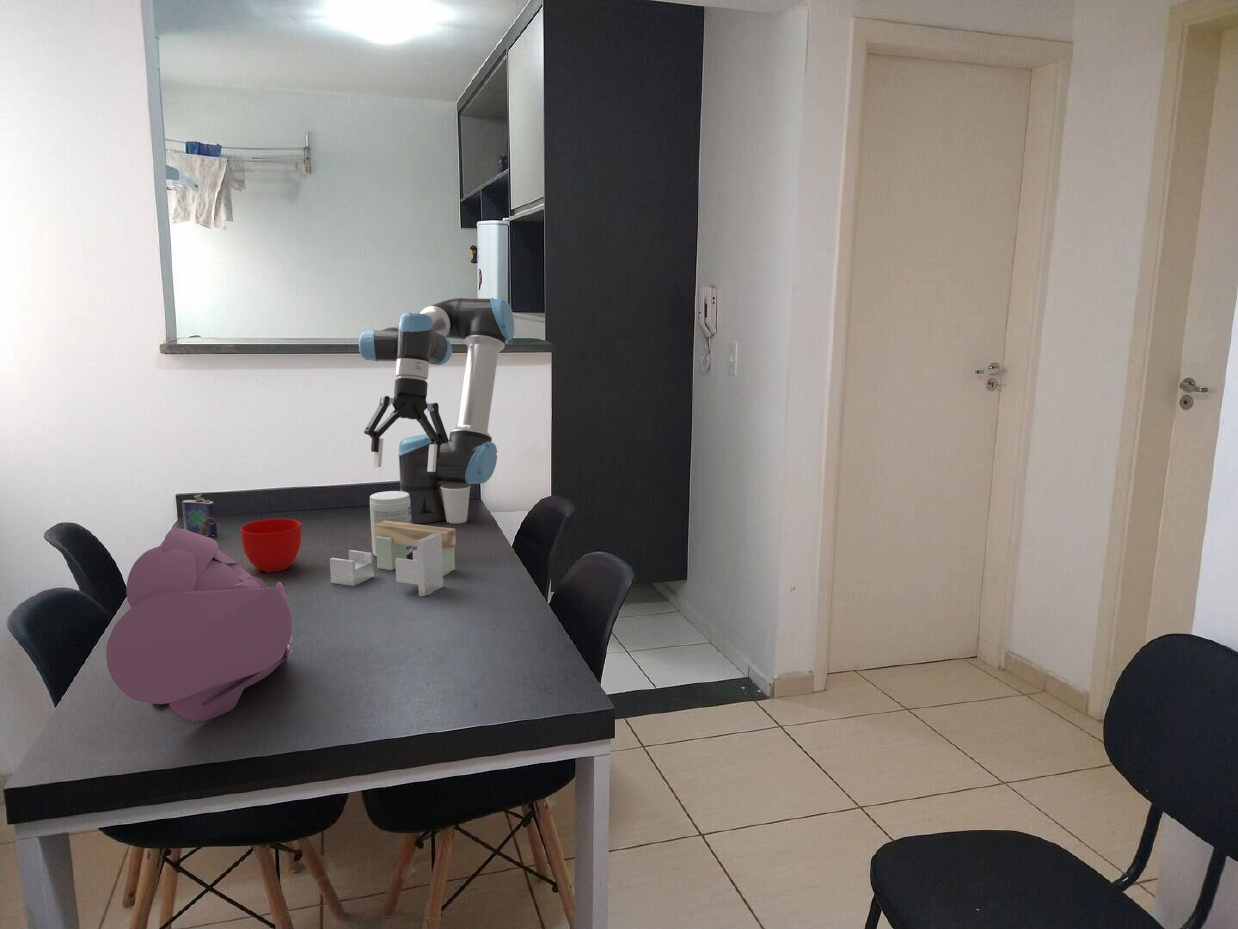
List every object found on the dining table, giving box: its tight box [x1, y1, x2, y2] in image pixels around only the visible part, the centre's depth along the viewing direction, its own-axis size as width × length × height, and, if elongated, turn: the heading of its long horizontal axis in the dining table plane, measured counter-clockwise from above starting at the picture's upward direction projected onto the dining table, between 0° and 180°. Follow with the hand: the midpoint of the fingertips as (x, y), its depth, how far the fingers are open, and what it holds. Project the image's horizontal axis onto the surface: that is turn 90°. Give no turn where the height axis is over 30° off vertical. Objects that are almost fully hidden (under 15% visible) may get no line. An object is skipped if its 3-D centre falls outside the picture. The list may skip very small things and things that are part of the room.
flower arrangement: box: [105, 527, 293, 722], centre depth 143 cm, size 35×24×28 cm
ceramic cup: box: [240, 518, 302, 573], centre depth 208 cm, size 13×17×10 cm
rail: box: [374, 521, 457, 551], centre depth 206 cm, size 4×19×4 cm, turn 69°
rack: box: [375, 536, 456, 577], centre depth 207 cm, size 7×17×8 cm, turn 69°
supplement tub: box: [369, 490, 414, 557], centre depth 217 cm, size 10×10×15 cm
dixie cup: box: [440, 482, 472, 524], centre depth 249 cm, size 8×8×10 cm
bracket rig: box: [329, 533, 444, 597], centre depth 195 cm, size 7×24×12 cm, turn 69°
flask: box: [181, 493, 218, 537], centre depth 233 cm, size 9×3×11 cm, turn 76°
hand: (404, 469), depth 210 cm, fingers open, 13 cm apart
